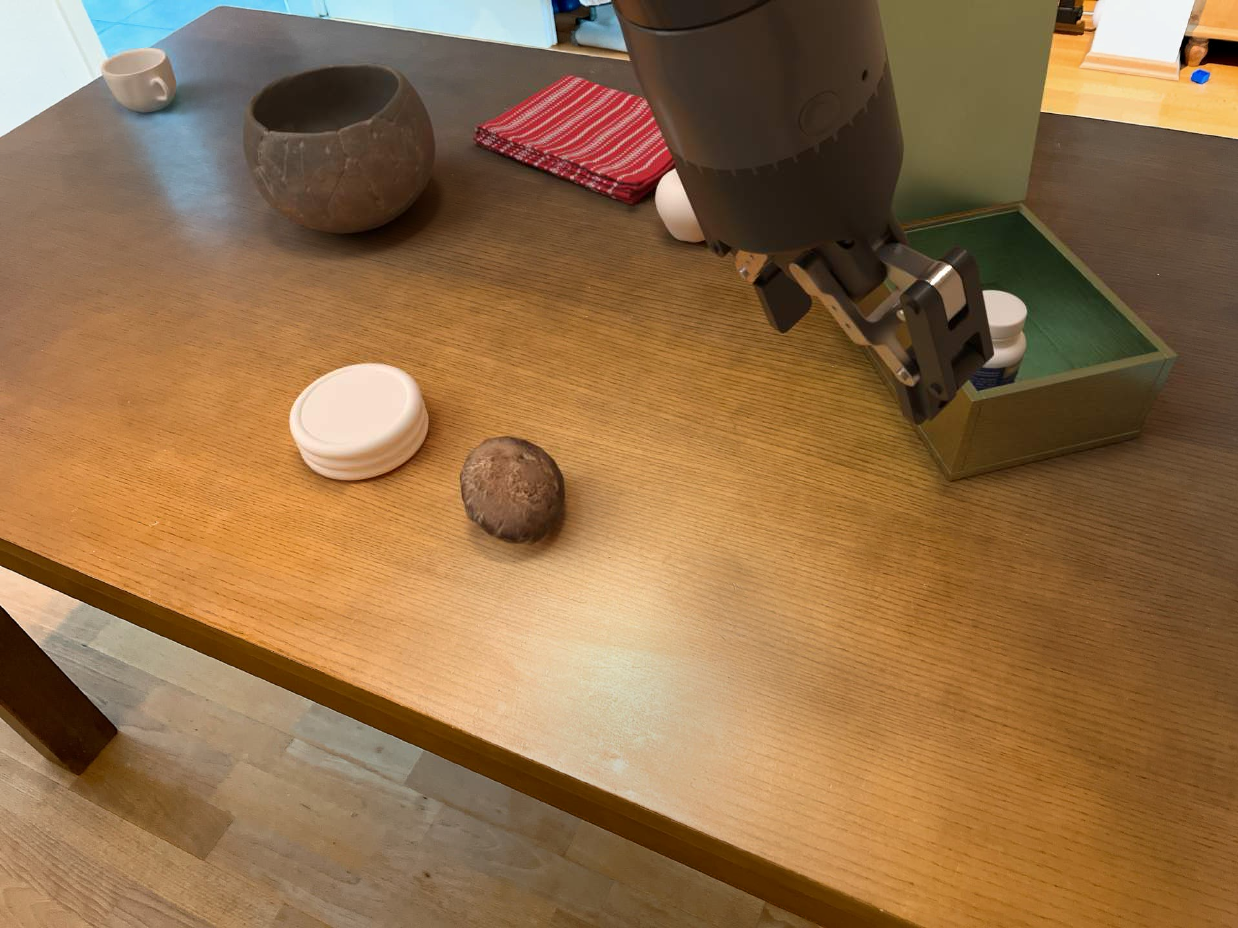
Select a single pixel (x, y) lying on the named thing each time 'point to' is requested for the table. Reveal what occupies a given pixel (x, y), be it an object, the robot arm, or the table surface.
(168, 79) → the teacup
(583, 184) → the dish towel
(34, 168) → the table surface
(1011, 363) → the pill bottle
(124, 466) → the table surface
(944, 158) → the box lid
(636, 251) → the table surface
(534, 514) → the mushroom
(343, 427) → the white round flat piece
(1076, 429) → the open box
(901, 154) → the robot arm
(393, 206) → the bowl
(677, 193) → the plain white apple
